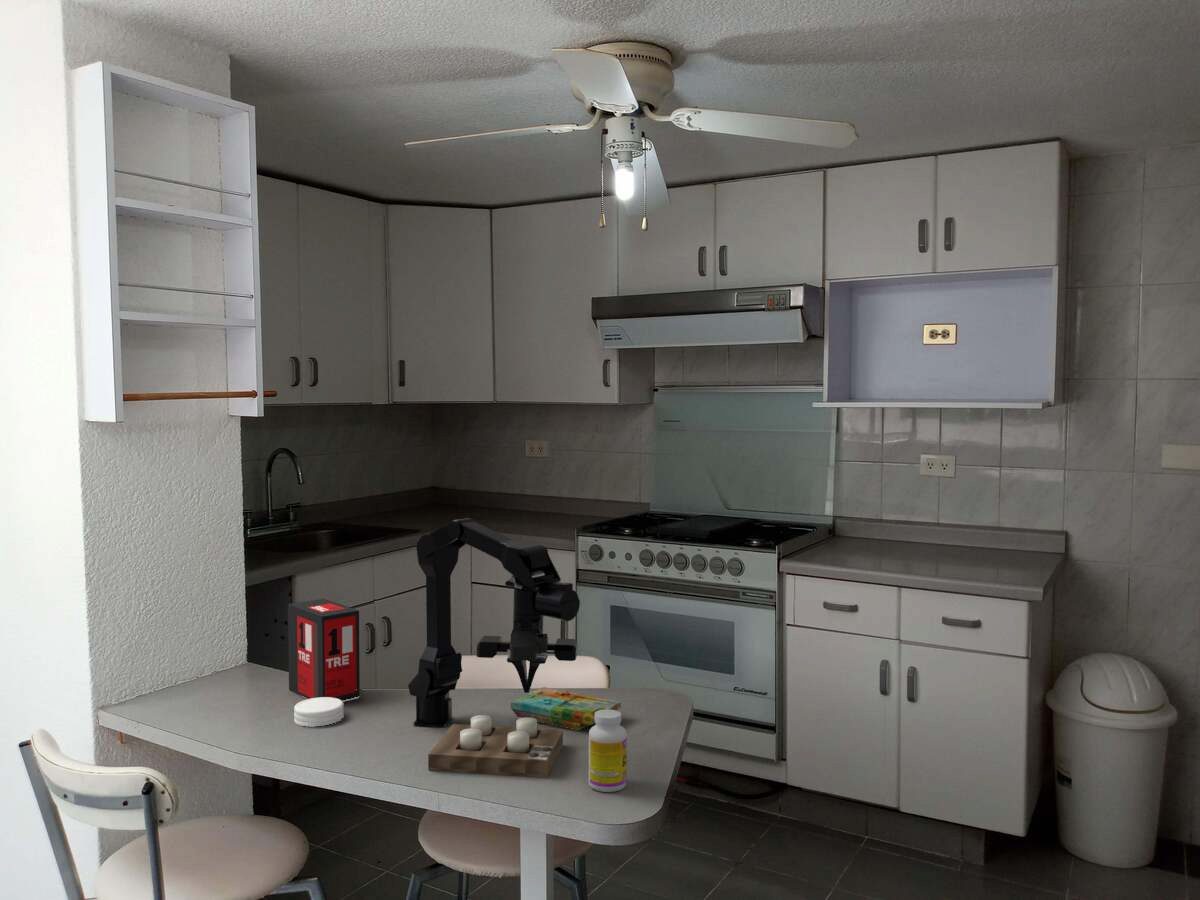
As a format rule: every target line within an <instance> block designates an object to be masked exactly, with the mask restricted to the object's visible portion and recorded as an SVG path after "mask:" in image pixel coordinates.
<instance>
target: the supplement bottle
mask: <svg viewBox="0 0 1200 900" xmlns="http://www.w3.org/2000/svg"><path fill="white" fill-rule="evenodd" d="M594 720H595V723H594V724H595V725H592V727H590V729H589V730H588V731H589V732H588V784H589V787H590V788H592V789H593V790H595V791H597V792H602V793H615V792H619V791H621V790H623V789H624V788H625V787H626V785H627V767H628V766H627V758H628V756H627V755H628V754H627V752H628V751H627V750H628V749H627V743H628V741H627V739H628V737H627V735H628V734H627V729H625V728H624V727H623V725H621V722H622V713H621V712H620V711H618V710H610V709H604V710H599V711H596V712H595V718H594Z"/></svg>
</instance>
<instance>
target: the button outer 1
mask: <svg viewBox="0 0 1200 900" xmlns="http://www.w3.org/2000/svg"><path fill="white" fill-rule="evenodd" d="M481 747H482V731H481V730H479V729H474V728H470V729H464V730H462V731H461V732H460V748H461V749H463V750H477V749H480V748H481Z"/></svg>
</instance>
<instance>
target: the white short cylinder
mask: <svg viewBox="0 0 1200 900" xmlns="http://www.w3.org/2000/svg"><path fill="white" fill-rule="evenodd" d="M344 706H345V705H344V702H342V701H341V700H339V699H337V698H331V697H319V698H311V699H304V700H301V701H298V702H297V703H296V704H295V706H294V708H293V711H294V713H293V715H294V719H293V720H294V723H295V724H296V725H297V726H300V727H303V726H306V727H305V728H316V727H315V726H323V727H325V726H324V725H329V724H332V725H334V724H333V723H335V724H337V723H336V722H338V721H340V720H341V719H342V718H343V719H344V717H345V714H344V710H345V709H344ZM343 719H342V720H343ZM342 720H341V721H342ZM341 721H340V722H341ZM338 723H339V722H338ZM308 726H309V727H308ZM329 726H330V725H329Z"/></svg>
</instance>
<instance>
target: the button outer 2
mask: <svg viewBox="0 0 1200 900" xmlns="http://www.w3.org/2000/svg"><path fill="white" fill-rule="evenodd" d="M507 750H508V751H509V752H512V753H524V752H527V751H528V750H529V733H528V732H525V731H513V732H510V733H508V739H507Z"/></svg>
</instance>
